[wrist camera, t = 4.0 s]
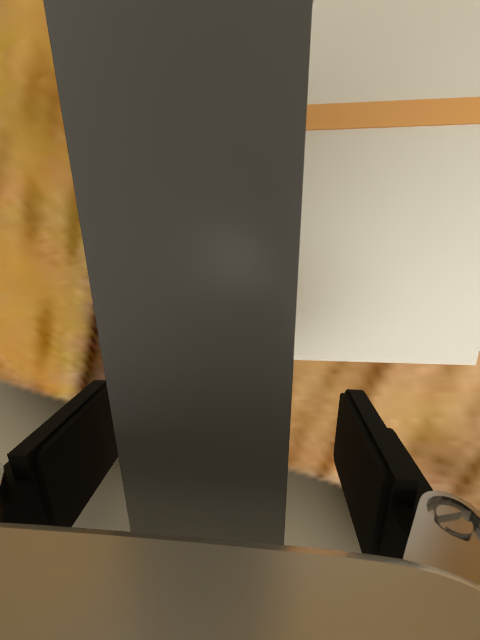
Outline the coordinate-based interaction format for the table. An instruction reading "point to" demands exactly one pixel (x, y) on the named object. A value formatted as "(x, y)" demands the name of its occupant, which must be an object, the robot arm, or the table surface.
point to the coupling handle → (191, 244)
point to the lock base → (391, 184)
